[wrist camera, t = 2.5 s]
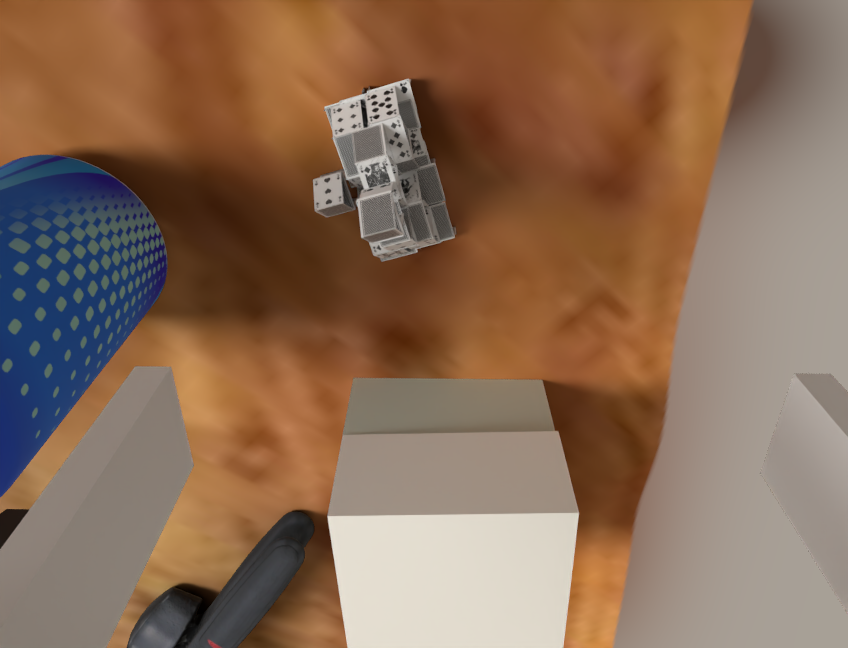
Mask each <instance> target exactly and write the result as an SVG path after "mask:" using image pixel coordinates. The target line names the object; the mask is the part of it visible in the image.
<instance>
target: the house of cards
mask: <svg viewBox="0 0 848 648" xmlns="http://www.w3.org/2000/svg"><path fill="white" fill-rule="evenodd" d="M410 83H411V79H405V80H402V81H399V82H395V83H392V84H389V85H386V86H382V87H379V88H376V89H372V90H370V86H369V88H368V90H367V93H365V90H364V88H363V90H362V94H361V95H358V96H355V97H351V98H348V99H345V100H341V101H339V103H336V104H332V105H329V106H326V107H324V108H325V110H324V111H326V113H327V116H328V119H329V122H330V125H331V128H332V131H333V138H332V139H333V140H334V143H335V145H336V148H337V151H338V154H339V157H340V160H341V162H342V165H343V168H344V169H341V170H337V171H334V172H330V173H327V174H323V175H321V176H320V178H316V179H313V190H314V208H315V212H317V213H319V214H321V215H323V216H325V217H331V216H334V215H338V214H342V213H345V212H349V211H353V210H356V205H357V207H358V210H359V220H360V230H361V238H362V239H364V240H366V241H368V242H369V244H370V247H371V250H372V253H373V255H374V256H376V257H379V258H380V259H381V262H382V261H386V260H390V259H394V258H398V257H401V256H405V255H409V254H413V253H417V252H418V251H417V249H419V248H420V250H421V248H422V247H426V246H430V245H434V244H438V243H441V241H445V240H449V239H453V238H455V236H454V235H455V234H456V226H455V227H452V225H451V222H450V218H449V215H448V211H447V208H446V204H445V202H443V201H446V199H445V196H444V192H443V188H442V185H441V181H440V178H439V174H438V171H437V167H436V163H435V158H433V159H430V158H429V155H428V151H427V148H426V144H425V141H423V138H422V134H421V131H420V128H421V124H420V121H419V117H418V114H417V107H416V103H415V100H414V96H413V93H412V89H411V86H410ZM344 176H345V177H346V180H348V181H349V184H350V186H351V188H354V187H357V192H358V197H356V198H352V197H351V194H350V191H349V189H348V186H347V183H346V180H345V177H344ZM442 202H443V203H442Z"/></svg>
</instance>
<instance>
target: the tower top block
mask: <svg viewBox="0 0 848 648" xmlns="http://www.w3.org/2000/svg"><path fill="white" fill-rule="evenodd" d="M327 517H328V523H329V530H330V536H331V543H332V549H333V556H334V562H335V569H336V575H337V582H338V588H339V594H340V601H341V607H342V614H343V620H344V627H345V633H346V640H347V646H348V648H563V645H564V636H565V628H566V619H567V611H568V602H569V594H570V585H571V577H572V568H573V560H574V551H575V543H576V534H577V526H578V517H579V511H578V507H577V503H576V499H575V495H574V491H573V487H572V483H571V479H570V475H569V471H568V467H567V463H566V459H565V455H564V451H563V447H562V443H561V439H560V435H559V432H558V431H537V432H480V433H423V434H365V435H343V437H342V442H341V448H340V453H339V458H338V463H337V469H336V474H335V479H334V484H333V490H332V495H331V500H330V505H329V511H328V516H327Z"/></svg>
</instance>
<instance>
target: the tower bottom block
mask: <svg viewBox="0 0 848 648" xmlns="http://www.w3.org/2000/svg"><path fill="white" fill-rule="evenodd" d="M537 431H555V428H554V424H553V420H552V416H551V412H550V408H549V404H548V400H547V396H546V392H545V388H544V384H543V380H518V379H417V378H353V383H352V388H351V394H350V399H349V404H348V410H347V415H346V420H345V426H344V431H343V435H365V434H423V433H480V432H537Z"/></svg>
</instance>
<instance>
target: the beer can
mask: <svg viewBox="0 0 848 648" xmlns="http://www.w3.org/2000/svg"><path fill="white" fill-rule="evenodd" d="M166 275H167V252H166V247H165V242H164V239H163V236H162V233H161V231H160V229H159V227H158V224H157V223H156V221H155V219H154V217H153V216H152V214H151V213H150V211H149V210H148V208H147V207H146V206H145V204H144V203H143V202H142V201H141V200H140V198H139V197H138V196H137V195H136V194H135V193H134V192H133V191H132V190H131V189H129V188H128V187H127V186H126V185H125V184H124V183H122V182H121V181H120V180H118V179H117V178H115V177H114V176H112V175H111V174H109V173H108V172H106V171H104V170H102V169H100V168H98V167H96V166H94V165H92V164H89V163H87V162H84V161H81V160H78V159H74V158H71V157H65V156H59V155H34V156H28V157H23V158H20V159H17V160H14V161H12V162H9V163H7V164H5V165H3V166H1V167H0V497H1V496H2V495H3V494H4V493H5V492H6V491H7V490H8V489H9V488H10V487H11V485H12V484H13V483H14V482H15V480H16V479H17V478H18V476H19V475H20V474H21V473H22V471H23V470H24V469H25V468H26V466H27V465H28V464H29V462H30V461H31V460H32V459H33V457H34V456H35V455H36V453H37V452H38V451H39V450H40V448H41V447H42V446H43V445H44V443H45V442H46V441H47V439H48V438H49V437H50V436H51V434H52V433H53V432H54V431H55V429H56V428H57V427H58V425H59V424H60V423H61V422H62V420H63V419H64V418H65V416H66V415H67V414H68V413H69V411H70V410H71V409H72V408H73V406H74V405H75V404H76V402H77V401H78V400H79V399H80V397H81V396H82V395H83V394H84V392H85V391H86V390H87V388H88V387H89V386H90V385H91V383H92V382H93V381H94V379H95V378H96V377H97V376H98V374H99V373H100V372H101V371H102V369H103V368H104V367H105V365H106V364H107V363H108V362H109V360H110V359H111V358H112V357H113V355H114V354H115V353H116V351H117V350H118V349H119V348H120V346H121V345H122V344H123V342H124V341H125V340H126V339H127V337H128V336H129V335H130V334H131V332H132V331H133V330H134V328H135V327H136V326H137V325H138V323H139V322H140V321H141V320H142V318H143V317H144V316H145V314H146V313H147V312H148V311H149V309H150V308H151V307H152V305H153V304H154V303H155V302H156V300H157V299H158V297H159V295H160V293H161V291H162V289H163V286H164V283H165V280H166Z"/></svg>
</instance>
